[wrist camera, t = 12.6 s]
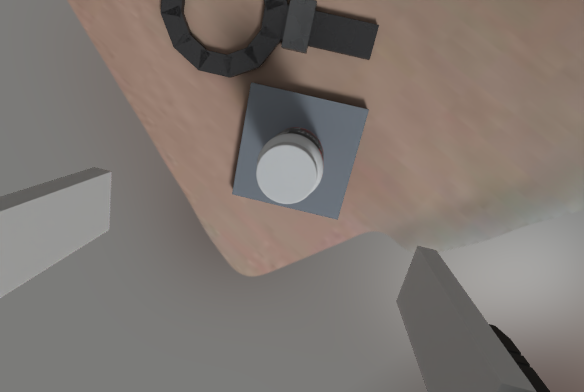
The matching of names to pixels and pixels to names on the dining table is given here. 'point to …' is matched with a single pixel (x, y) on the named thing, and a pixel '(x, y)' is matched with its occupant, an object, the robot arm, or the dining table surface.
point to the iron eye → (273, 36)
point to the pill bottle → (290, 165)
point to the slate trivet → (311, 116)
